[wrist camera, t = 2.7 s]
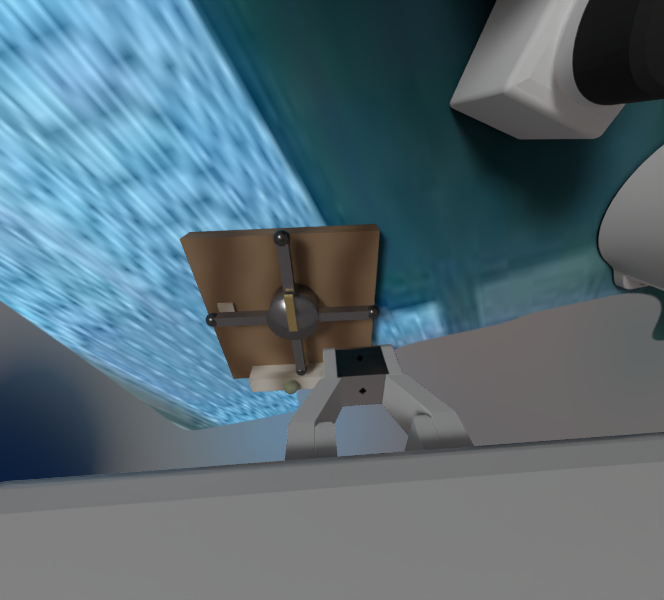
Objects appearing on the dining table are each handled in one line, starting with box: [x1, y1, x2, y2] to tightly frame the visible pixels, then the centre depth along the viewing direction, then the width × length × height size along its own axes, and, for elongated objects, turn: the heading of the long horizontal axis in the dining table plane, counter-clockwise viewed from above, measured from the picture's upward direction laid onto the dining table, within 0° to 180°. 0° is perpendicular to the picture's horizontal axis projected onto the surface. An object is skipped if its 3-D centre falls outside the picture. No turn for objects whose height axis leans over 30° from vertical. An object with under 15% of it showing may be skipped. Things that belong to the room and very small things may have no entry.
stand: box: [180, 224, 380, 394], centre depth 27 cm, size 18×19×5 cm
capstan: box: [206, 230, 380, 376], centre depth 25 cm, size 17×17×3 cm
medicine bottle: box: [450, 0, 664, 139], centre depth 13 cm, size 7×7×12 cm
